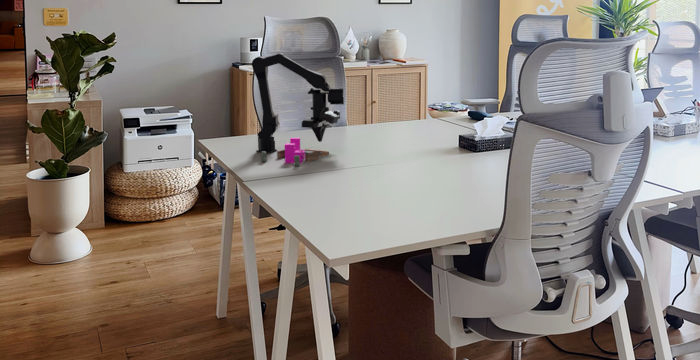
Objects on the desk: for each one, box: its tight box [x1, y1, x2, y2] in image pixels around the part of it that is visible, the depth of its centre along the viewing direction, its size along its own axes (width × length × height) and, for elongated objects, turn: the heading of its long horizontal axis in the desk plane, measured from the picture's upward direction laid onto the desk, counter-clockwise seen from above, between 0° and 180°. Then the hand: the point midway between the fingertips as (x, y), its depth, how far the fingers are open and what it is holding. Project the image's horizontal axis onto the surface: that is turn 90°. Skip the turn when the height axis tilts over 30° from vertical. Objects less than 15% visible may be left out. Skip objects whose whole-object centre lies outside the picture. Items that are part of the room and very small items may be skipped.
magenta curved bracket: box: [284, 137, 305, 164], centre depth 293 cm, size 15×6×8 cm, turn 175°
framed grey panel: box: [260, 148, 330, 168], centre depth 294 cm, size 18×27×4 cm, turn 149°
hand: (320, 141), depth 307 cm, fingers closed
